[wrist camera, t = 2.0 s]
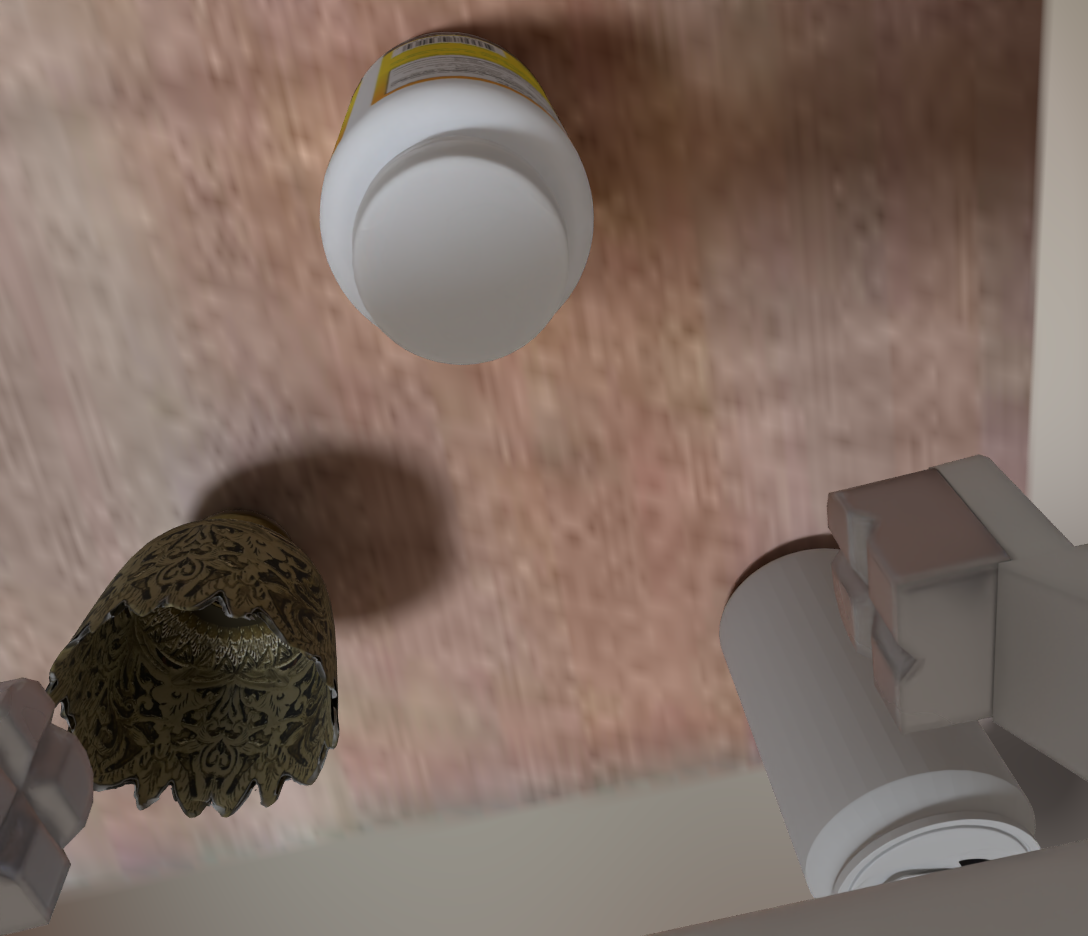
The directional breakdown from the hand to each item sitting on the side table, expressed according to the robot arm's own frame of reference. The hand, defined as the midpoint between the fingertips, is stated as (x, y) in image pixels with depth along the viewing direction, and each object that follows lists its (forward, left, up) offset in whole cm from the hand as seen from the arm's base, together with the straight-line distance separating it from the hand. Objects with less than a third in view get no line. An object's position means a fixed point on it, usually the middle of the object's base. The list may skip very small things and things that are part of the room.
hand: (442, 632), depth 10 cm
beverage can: (-8, +19, -20) cm, 29 cm away
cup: (+10, +11, -20) cm, 24 cm away
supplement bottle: (0, 0, -20) cm, 20 cm away
